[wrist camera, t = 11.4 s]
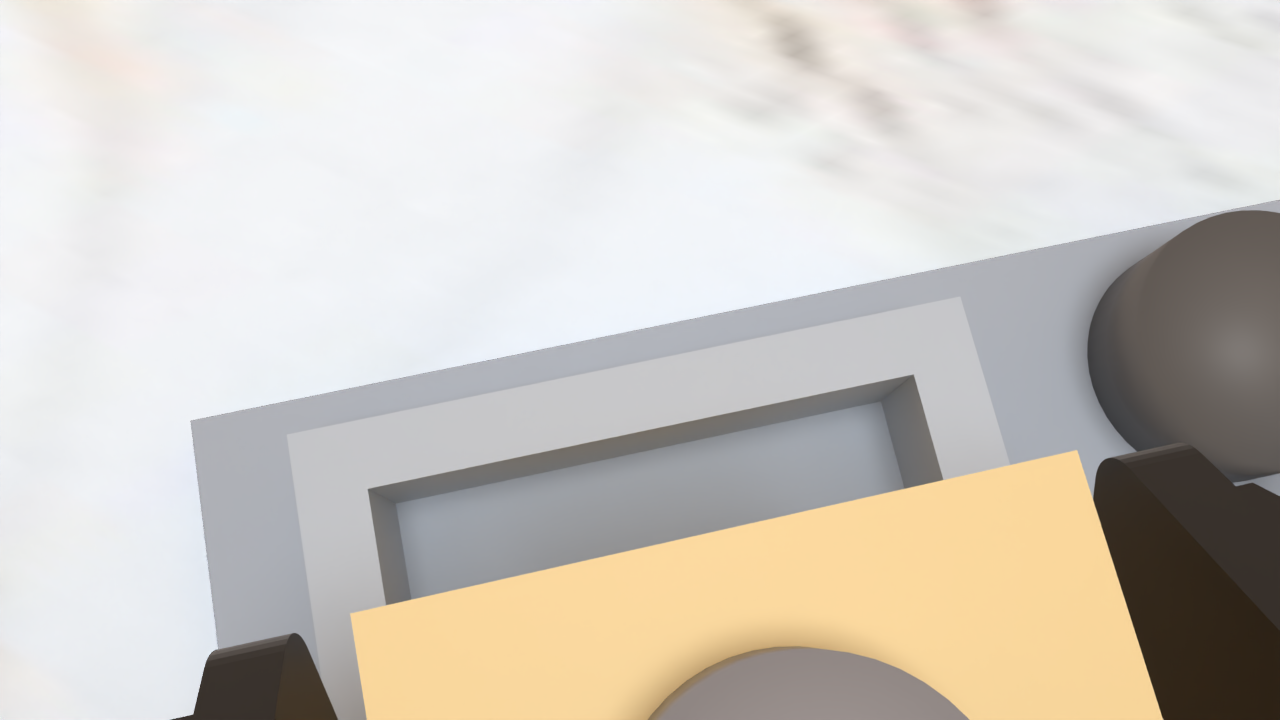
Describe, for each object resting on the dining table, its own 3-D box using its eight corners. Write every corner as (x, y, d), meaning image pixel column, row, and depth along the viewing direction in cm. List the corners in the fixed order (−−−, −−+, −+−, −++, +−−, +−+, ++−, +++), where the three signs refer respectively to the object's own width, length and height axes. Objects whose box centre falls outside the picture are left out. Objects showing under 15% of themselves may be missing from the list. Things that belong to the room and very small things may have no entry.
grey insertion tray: (313, 1231, 16) (215, 1433, 12) (212, 430, 18) (104, 380, 14) (1579, 906, 17) (1864, 990, 13) (1312, 207, 20) (1484, 105, 16)
